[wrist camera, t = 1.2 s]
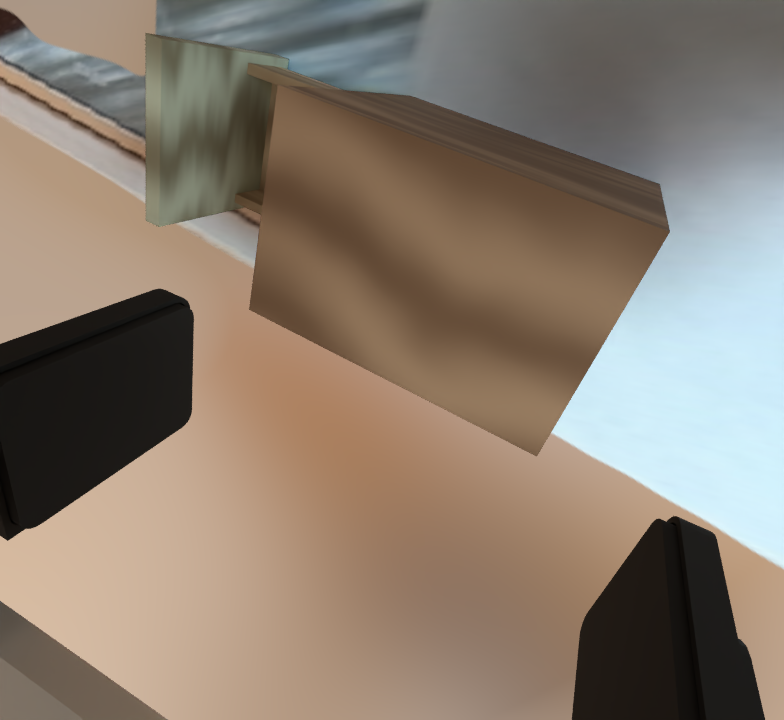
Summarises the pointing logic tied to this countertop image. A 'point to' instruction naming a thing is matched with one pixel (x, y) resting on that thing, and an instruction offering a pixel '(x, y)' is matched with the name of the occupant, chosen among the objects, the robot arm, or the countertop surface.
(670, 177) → the countertop surface
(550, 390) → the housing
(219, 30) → the countertop surface
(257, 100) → the green-fronted drawer
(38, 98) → the countertop surface
